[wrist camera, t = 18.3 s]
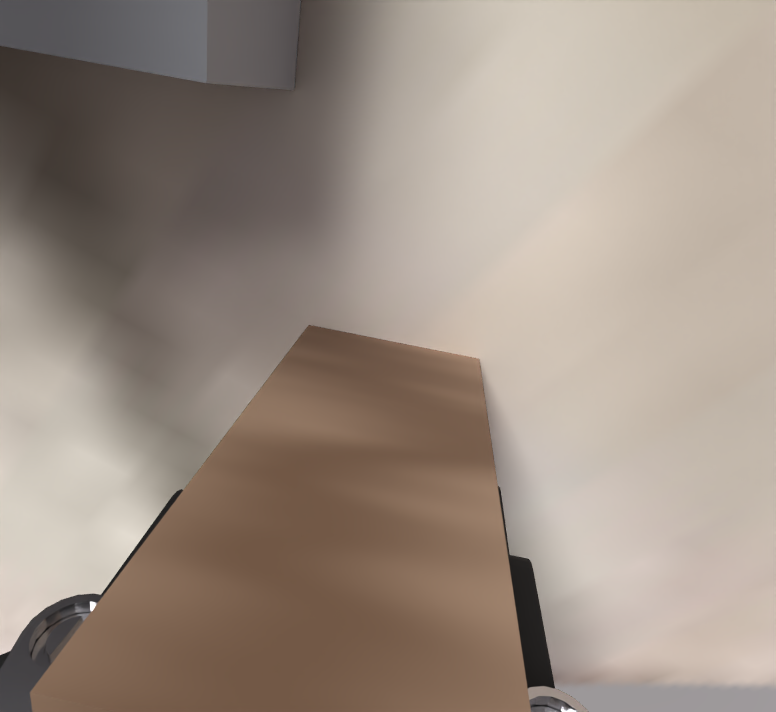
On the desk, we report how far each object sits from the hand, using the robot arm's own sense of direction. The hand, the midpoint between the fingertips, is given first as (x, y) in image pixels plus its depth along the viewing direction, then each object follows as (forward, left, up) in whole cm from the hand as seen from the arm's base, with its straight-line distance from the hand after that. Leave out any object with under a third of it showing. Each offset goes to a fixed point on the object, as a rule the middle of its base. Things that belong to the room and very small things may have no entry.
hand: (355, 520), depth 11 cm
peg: (0, -1, -3) cm, 3 cm away
